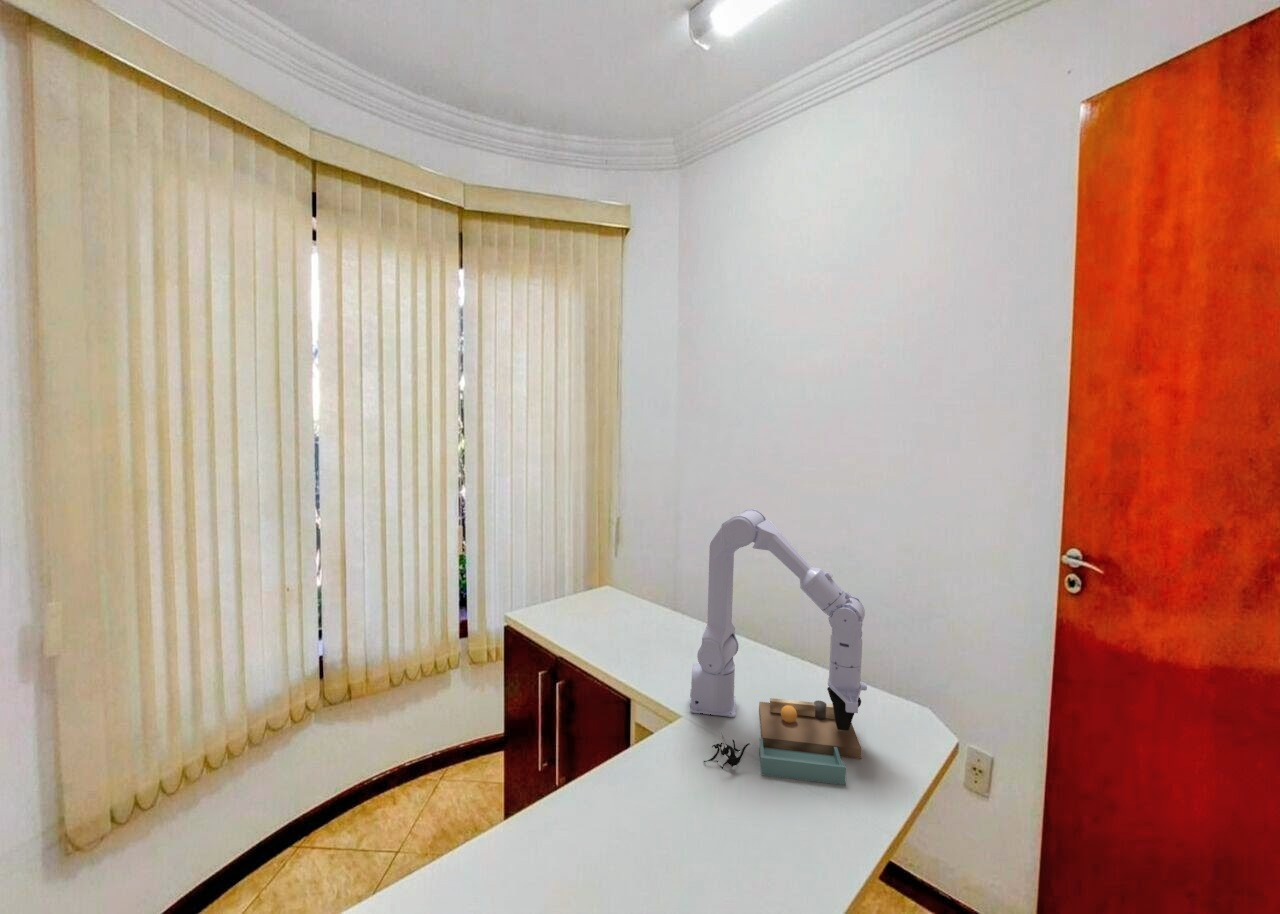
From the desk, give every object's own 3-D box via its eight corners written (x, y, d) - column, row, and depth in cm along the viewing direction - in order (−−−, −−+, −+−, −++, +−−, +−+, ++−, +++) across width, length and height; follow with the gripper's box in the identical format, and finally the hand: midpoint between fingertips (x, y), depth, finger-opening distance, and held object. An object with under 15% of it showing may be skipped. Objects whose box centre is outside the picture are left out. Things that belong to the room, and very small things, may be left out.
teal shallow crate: (761, 774, 94) (761, 757, 93) (759, 748, 101) (759, 732, 101) (845, 785, 91) (845, 767, 91) (836, 757, 99) (837, 740, 98)
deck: (762, 747, 101) (762, 737, 101) (759, 710, 114) (759, 701, 114) (861, 759, 98) (861, 748, 98) (846, 719, 111) (846, 710, 111)
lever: (770, 713, 109) (770, 699, 109) (769, 707, 111) (769, 693, 111) (846, 721, 106) (847, 707, 106) (844, 715, 109) (844, 701, 108)
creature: (696, 762, 99) (720, 779, 92) (694, 732, 99) (717, 746, 92) (731, 751, 102) (757, 766, 95) (728, 722, 103) (753, 735, 96)
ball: (781, 725, 105) (781, 709, 105) (779, 716, 108) (780, 701, 108) (797, 727, 105) (798, 711, 104) (795, 717, 108) (796, 702, 108)
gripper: (877, 681, 94) (873, 753, 95) (858, 646, 108) (855, 709, 109) (835, 677, 95) (832, 749, 96) (822, 643, 109) (820, 706, 111)
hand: (842, 728), depth 103 cm, fingers closed
